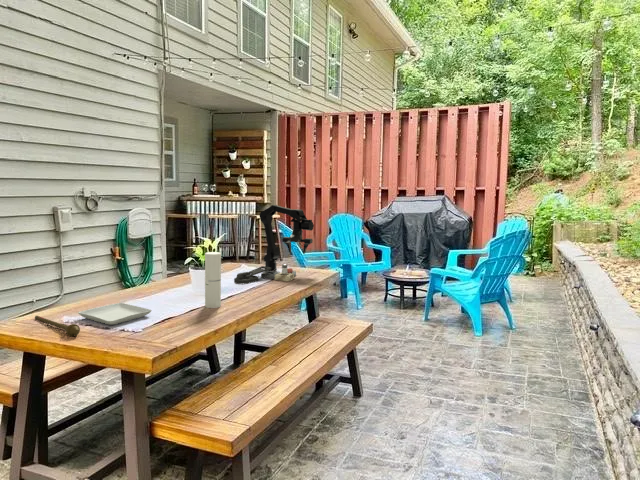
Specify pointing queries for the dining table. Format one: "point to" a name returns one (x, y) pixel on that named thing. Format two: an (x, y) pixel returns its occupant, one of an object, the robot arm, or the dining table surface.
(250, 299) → the dining table surface
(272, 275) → the socket block
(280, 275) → the rack
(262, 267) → the dark grey stapler
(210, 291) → the cylindrical container
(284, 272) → the drill peg
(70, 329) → the ball ended rod
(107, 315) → the salad plate
